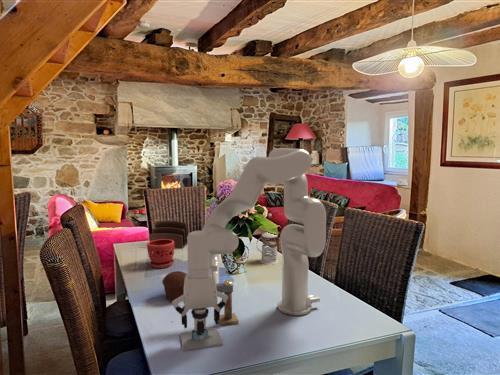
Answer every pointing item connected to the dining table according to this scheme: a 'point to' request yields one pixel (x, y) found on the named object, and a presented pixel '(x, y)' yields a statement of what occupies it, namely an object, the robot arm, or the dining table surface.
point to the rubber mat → (209, 342)
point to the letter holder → (170, 232)
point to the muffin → (174, 285)
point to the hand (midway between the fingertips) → (200, 324)
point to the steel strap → (225, 286)
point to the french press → (269, 249)
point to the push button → (200, 324)
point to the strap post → (228, 312)
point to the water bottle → (216, 263)
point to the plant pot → (161, 252)
